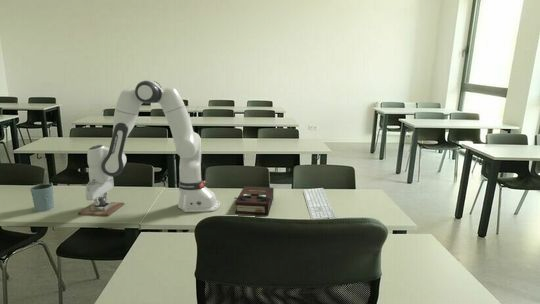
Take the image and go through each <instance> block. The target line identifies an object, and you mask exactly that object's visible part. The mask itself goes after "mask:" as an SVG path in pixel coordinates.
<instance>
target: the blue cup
mask: <svg viewBox="0 0 540 304" xmlns="http://www.w3.org/2000/svg"><path fill="white" fill-rule="evenodd" d="M29 190H30V193H31V197H32V202H33V207H34V211H35V210H36V212H47V210H48V211H51V210H53V209H54V206H55V204H54V202H55V201H54V184H52V183H39V184H34V185H32V186H30V187H29ZM52 208H53V209H52ZM50 209H51V210H50Z"/></svg>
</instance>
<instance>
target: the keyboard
mask: <svg viewBox="0 0 540 304" xmlns="http://www.w3.org/2000/svg"><path fill="white" fill-rule="evenodd" d="M302 192H303V194H304V199H305V203H306V205H307V208H308V213H309V216H310V219H326V218H336V219H337V215H336V213H335V211H334V208H333V207H332V206H333V205H332V204H331V202H330V200H329V198H328V195H327V194H326V191H325V190H324V187H320V188H319V187H318V188H308V189H305V188H304V189H303V190H302ZM326 220H327V219H326Z"/></svg>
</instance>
